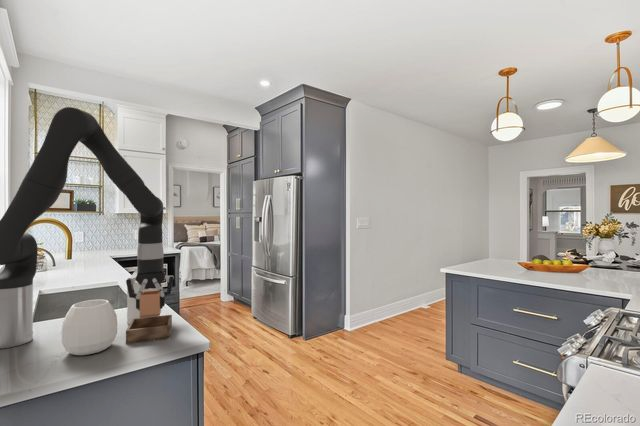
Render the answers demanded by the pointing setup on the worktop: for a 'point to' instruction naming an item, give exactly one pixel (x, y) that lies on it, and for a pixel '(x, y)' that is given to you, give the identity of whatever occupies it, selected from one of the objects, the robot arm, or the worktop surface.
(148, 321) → the walnut crate
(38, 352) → the worktop surface
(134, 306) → the milk carton
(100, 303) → the white round vase
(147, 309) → the terracotta crate
